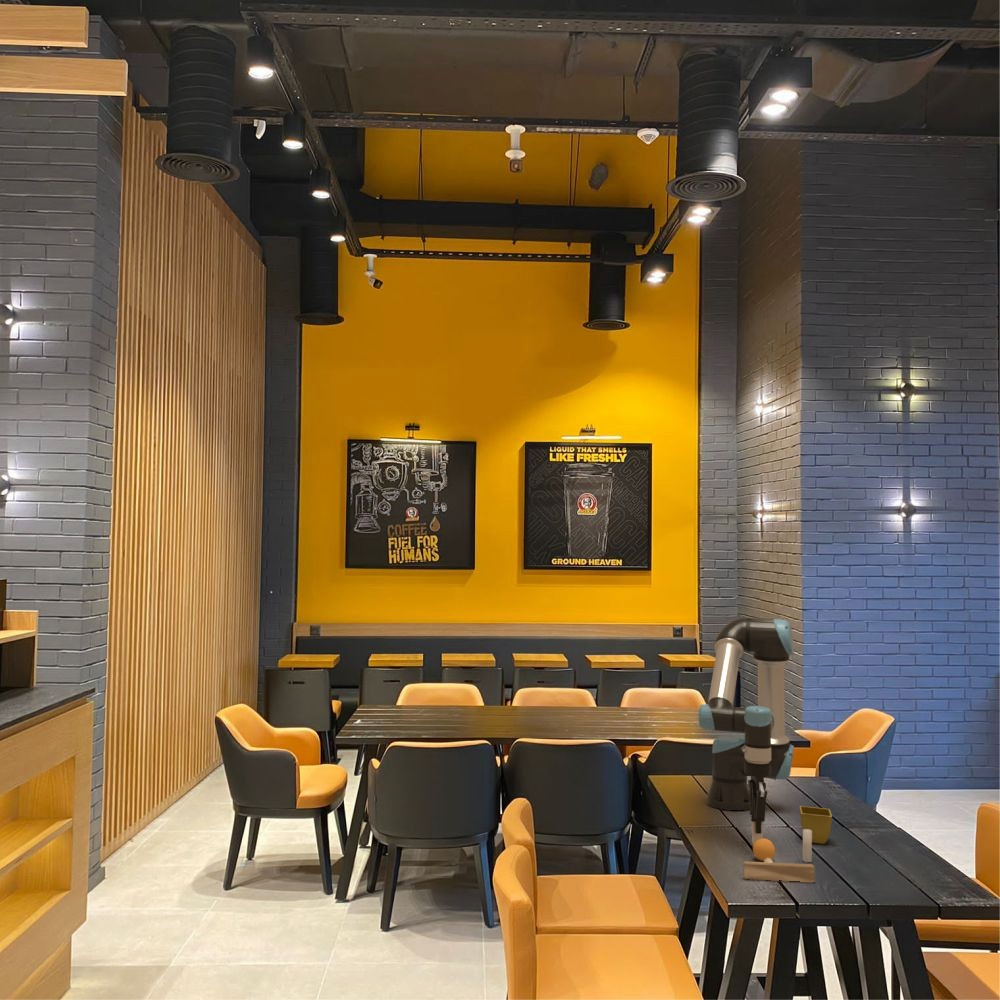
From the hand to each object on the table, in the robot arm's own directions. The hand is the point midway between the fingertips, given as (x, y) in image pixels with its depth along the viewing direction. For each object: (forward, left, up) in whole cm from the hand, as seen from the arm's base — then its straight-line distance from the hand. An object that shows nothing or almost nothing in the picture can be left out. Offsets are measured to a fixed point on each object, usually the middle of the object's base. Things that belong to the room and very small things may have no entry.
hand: (757, 843), depth 261 cm
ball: (+9, 0, +1) cm, 9 cm away
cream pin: (+14, 0, -1) cm, 14 cm away
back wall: (+24, 0, -2) cm, 24 cm away
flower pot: (-11, +20, -2) cm, 23 cm away
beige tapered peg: (+8, +12, -2) cm, 15 cm away
